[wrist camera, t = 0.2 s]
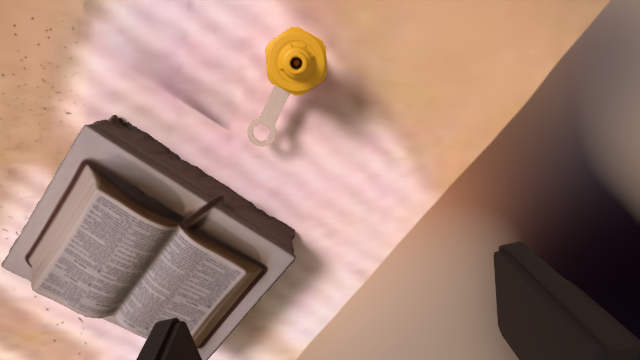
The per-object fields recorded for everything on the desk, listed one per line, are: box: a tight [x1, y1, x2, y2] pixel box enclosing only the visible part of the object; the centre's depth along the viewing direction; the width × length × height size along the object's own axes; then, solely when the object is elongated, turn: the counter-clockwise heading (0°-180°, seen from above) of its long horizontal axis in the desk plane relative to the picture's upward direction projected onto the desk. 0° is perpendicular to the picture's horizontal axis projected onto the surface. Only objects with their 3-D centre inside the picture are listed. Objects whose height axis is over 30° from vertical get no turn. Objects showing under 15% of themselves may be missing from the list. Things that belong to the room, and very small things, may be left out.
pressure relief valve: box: [247, 27, 327, 147], centre depth 35 cm, size 6×12×10 cm, turn 152°
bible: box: [2, 115, 295, 360], centre depth 40 cm, size 23×27×10 cm
